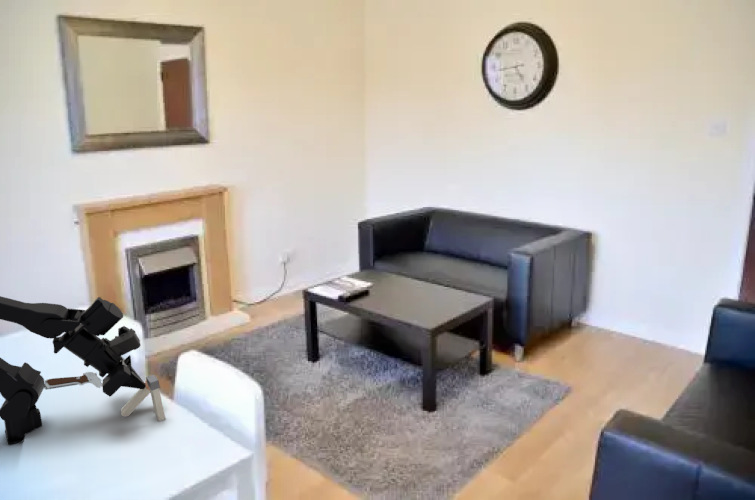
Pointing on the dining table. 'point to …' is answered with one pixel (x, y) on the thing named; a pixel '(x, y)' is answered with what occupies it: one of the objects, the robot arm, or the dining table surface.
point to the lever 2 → (156, 396)
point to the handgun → (74, 381)
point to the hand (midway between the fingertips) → (144, 387)
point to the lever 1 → (135, 401)
